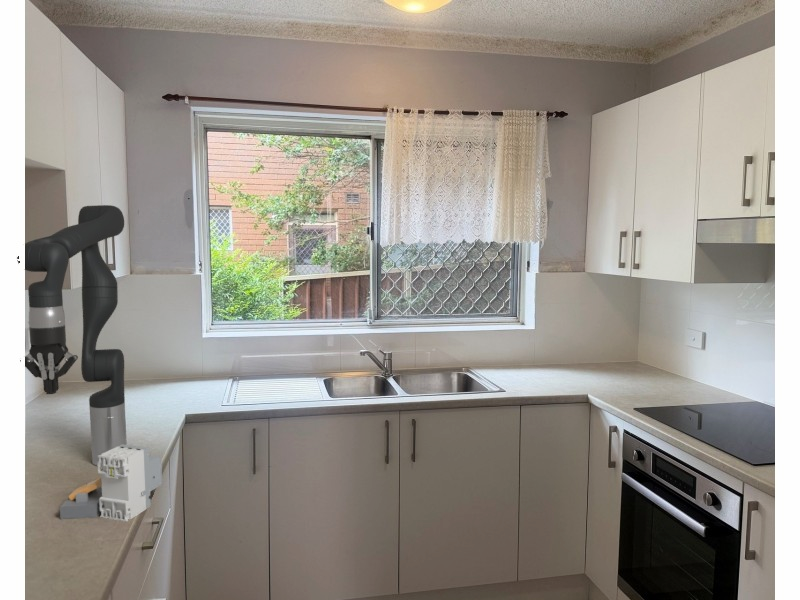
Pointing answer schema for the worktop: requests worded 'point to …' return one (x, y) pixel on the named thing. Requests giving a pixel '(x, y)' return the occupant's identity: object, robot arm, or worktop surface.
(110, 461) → the electrical contactor
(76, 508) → the switch box
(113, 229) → the robot arm
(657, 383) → the worktop surface
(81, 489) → the block
